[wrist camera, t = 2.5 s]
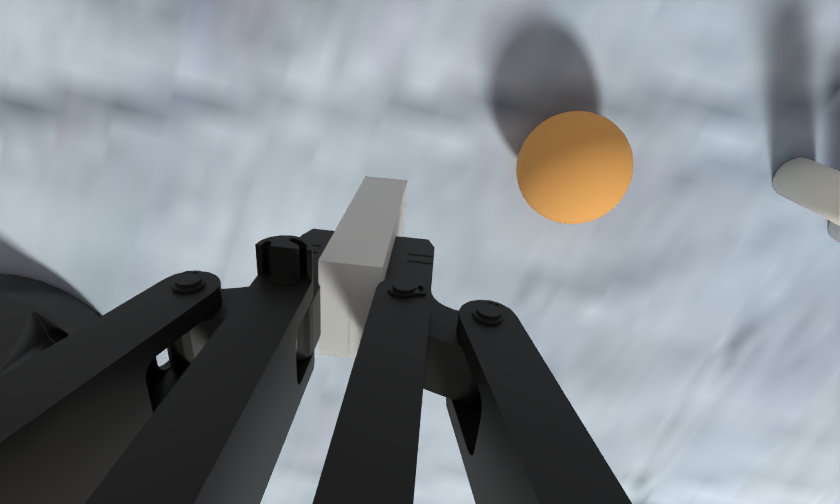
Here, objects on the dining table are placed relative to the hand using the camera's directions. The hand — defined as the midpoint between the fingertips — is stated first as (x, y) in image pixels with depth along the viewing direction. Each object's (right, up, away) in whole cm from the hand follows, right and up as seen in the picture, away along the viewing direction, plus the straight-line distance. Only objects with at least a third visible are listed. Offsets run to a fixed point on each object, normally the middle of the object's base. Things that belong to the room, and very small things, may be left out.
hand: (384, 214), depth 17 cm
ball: (+10, +3, +8) cm, 13 cm away
